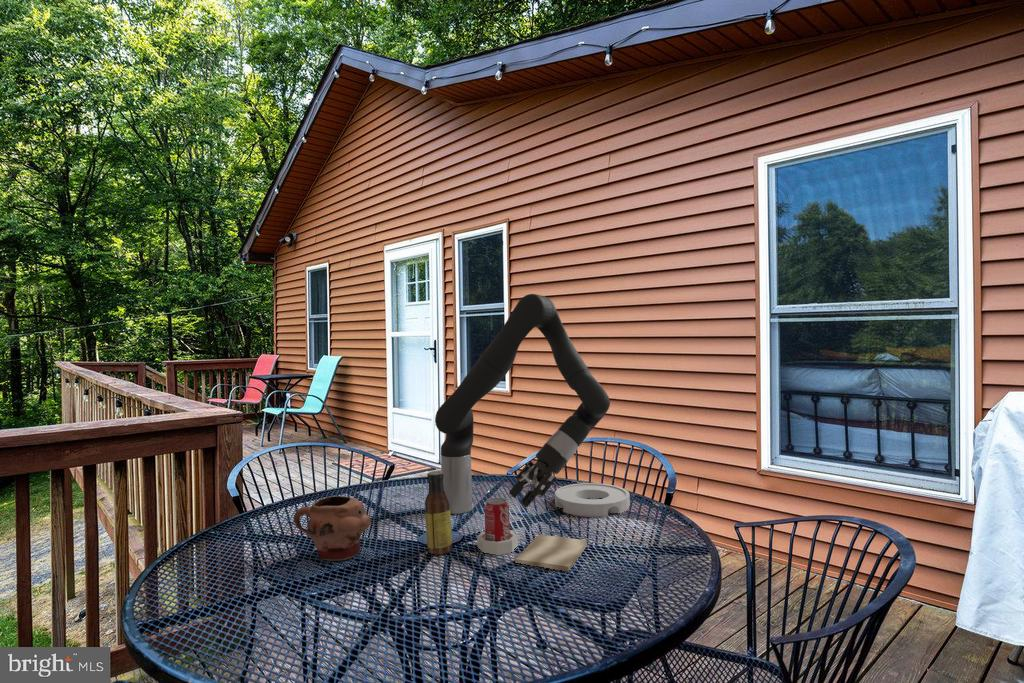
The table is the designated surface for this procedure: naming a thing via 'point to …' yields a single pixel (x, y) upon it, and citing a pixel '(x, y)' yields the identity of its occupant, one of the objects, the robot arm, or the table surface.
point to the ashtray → (577, 504)
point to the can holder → (497, 544)
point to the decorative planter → (335, 526)
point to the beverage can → (497, 520)
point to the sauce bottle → (437, 516)
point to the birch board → (552, 552)
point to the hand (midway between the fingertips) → (517, 500)
